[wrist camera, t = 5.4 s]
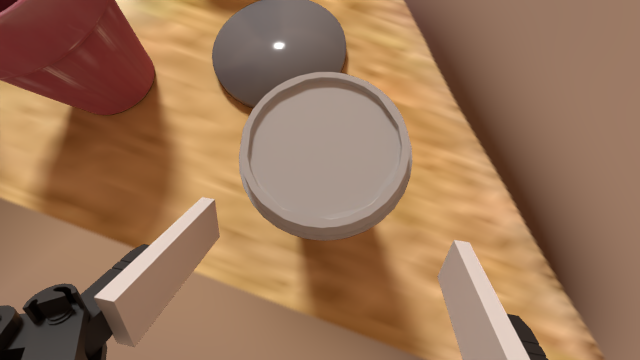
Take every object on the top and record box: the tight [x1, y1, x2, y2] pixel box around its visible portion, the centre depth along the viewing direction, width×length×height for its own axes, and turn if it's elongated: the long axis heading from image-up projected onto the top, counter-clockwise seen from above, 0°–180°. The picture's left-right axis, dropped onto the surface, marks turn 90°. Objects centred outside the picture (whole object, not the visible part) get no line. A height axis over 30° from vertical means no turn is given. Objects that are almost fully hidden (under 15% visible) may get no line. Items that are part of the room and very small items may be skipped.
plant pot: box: [0, 0, 154, 115], centre depth 23 cm, size 14×14×13 cm
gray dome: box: [212, 0, 346, 108], centre depth 29 cm, size 15×15×1 cm
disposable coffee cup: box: [239, 72, 412, 241], centre depth 19 cm, size 10×10×12 cm
